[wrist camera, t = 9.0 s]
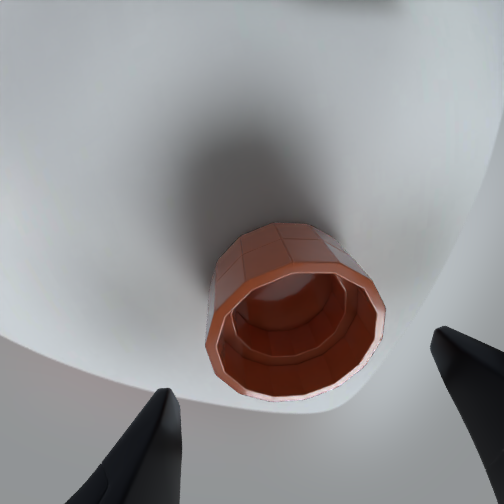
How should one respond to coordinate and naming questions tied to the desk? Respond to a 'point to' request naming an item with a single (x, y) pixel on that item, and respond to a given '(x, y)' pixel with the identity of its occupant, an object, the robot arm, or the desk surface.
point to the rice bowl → (290, 314)
